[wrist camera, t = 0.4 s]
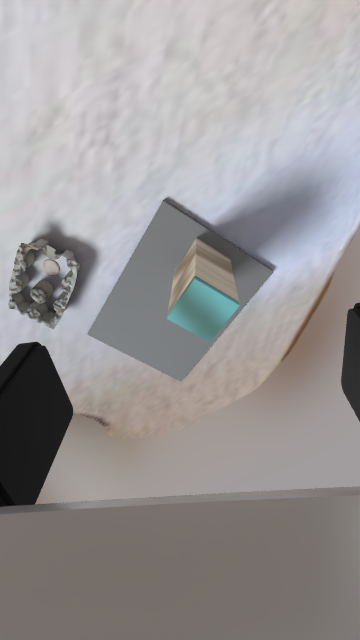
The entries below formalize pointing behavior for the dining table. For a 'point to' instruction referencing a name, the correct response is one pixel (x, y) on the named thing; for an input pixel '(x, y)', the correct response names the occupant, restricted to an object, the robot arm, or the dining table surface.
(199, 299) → the birch block
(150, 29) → the dining table surface
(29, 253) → the grey jagged stone ring
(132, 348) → the rubber mat
